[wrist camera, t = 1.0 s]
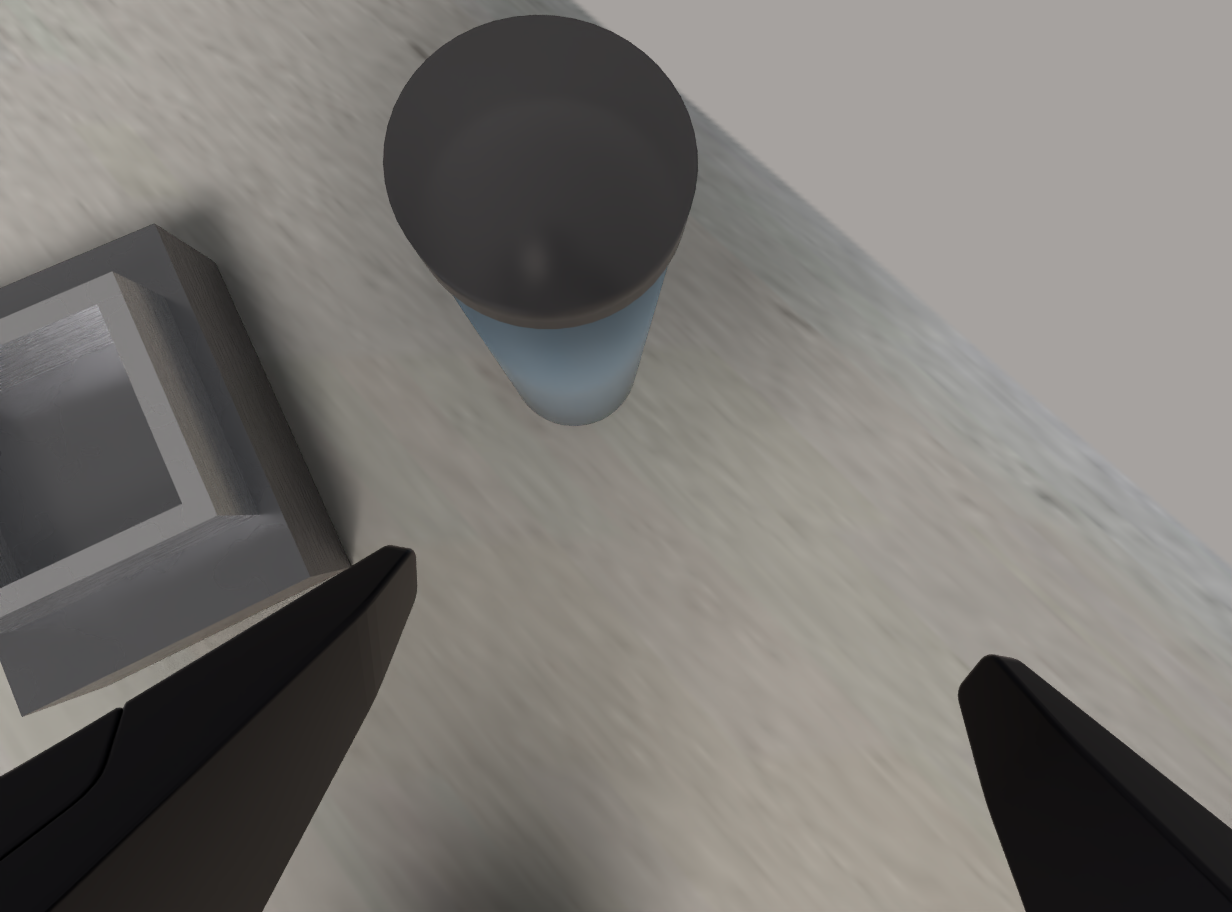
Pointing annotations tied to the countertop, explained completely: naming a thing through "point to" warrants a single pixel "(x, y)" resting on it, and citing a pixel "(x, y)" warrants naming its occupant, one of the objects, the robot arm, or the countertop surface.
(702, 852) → the countertop surface
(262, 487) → the gray rectangular open-top holder
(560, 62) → the capped blue cylinder
